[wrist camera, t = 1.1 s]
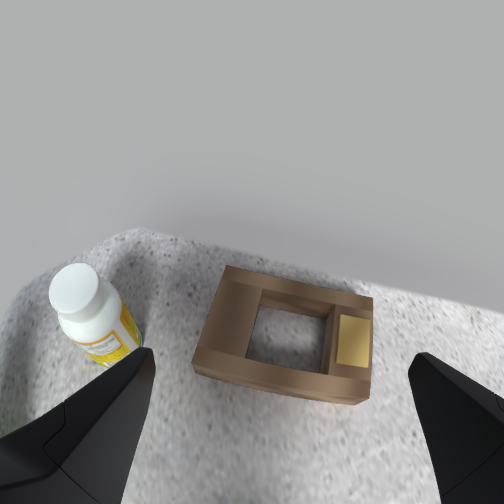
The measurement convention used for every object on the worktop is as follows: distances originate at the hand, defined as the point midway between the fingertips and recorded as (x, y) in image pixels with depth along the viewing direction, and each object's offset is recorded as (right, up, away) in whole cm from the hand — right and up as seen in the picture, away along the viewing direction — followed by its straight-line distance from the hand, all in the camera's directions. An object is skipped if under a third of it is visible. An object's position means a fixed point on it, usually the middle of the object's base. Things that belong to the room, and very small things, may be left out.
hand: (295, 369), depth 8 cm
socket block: (+2, -5, +16) cm, 17 cm away
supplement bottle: (-14, -5, +15) cm, 21 cm away
